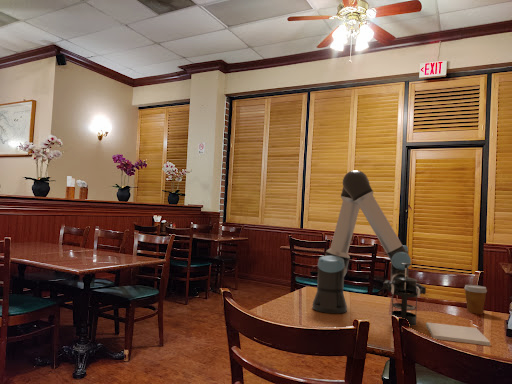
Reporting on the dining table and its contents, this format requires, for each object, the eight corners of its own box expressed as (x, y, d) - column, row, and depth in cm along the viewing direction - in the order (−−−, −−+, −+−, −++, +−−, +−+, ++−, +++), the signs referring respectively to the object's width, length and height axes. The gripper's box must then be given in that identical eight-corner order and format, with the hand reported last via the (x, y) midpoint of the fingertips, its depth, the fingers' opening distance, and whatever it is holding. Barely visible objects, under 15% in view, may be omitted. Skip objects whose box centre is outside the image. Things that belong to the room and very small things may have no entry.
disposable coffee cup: (491, 314, 178) (492, 288, 178) (475, 315, 175) (475, 288, 176) (474, 309, 187) (475, 284, 188) (458, 309, 184) (459, 284, 185)
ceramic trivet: (433, 338, 137) (433, 335, 137) (426, 325, 154) (426, 322, 154) (490, 345, 132) (490, 342, 132) (476, 331, 149) (476, 328, 149)
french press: (416, 328, 143) (419, 265, 144) (389, 323, 146) (392, 262, 148) (416, 320, 154) (419, 262, 155) (391, 316, 157) (394, 260, 158)
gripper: (427, 294, 165) (436, 305, 143) (375, 288, 171) (376, 298, 149) (428, 276, 165) (436, 285, 143) (376, 271, 171) (376, 278, 149)
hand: (405, 291), depth 146 cm, fingers closed on french press, 8 cm apart
